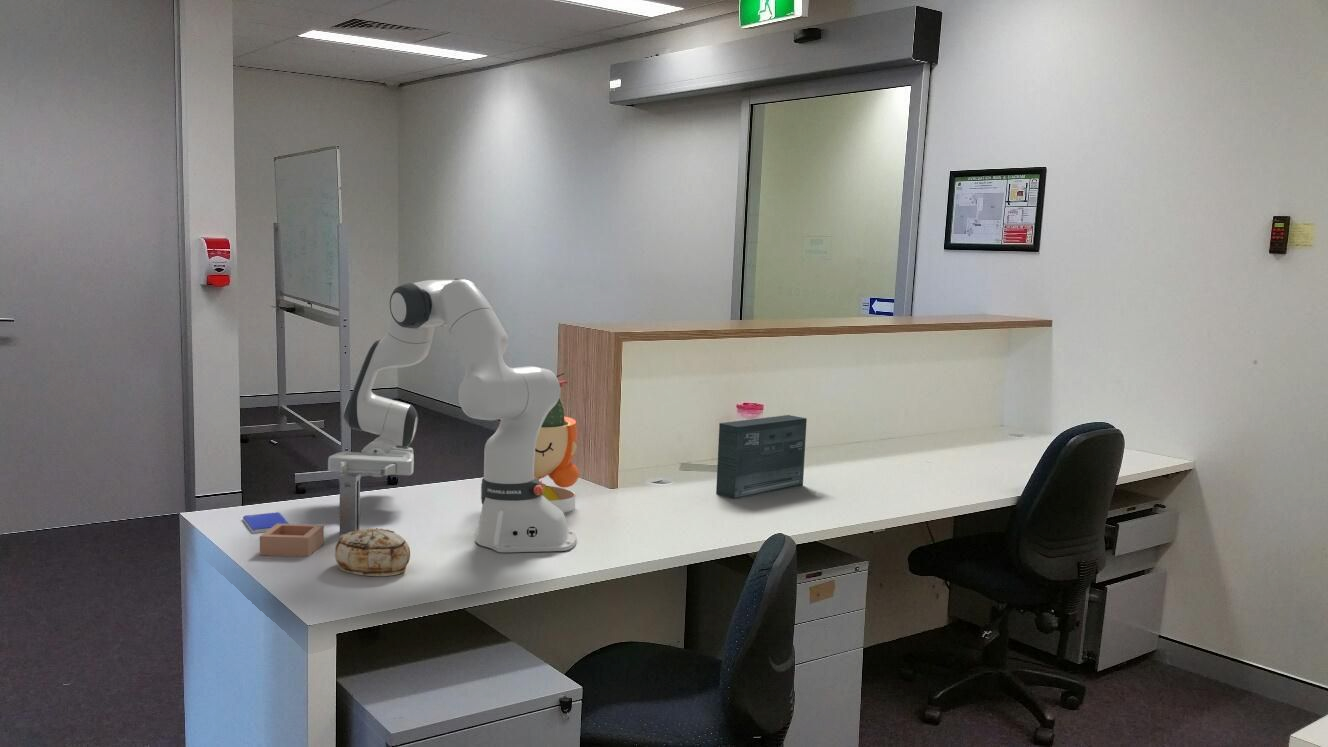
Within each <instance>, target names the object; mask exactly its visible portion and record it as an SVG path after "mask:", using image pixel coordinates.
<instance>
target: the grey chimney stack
mask: <svg viewBox="0 0 1328 747" xmlns="http://www.w3.org/2000/svg"><path fill="white" fill-rule="evenodd" d="M361 475H362V473H352V472H348V473H340V475H339V476H338V482H339V535H344V534H346V533H348V532H351V531H355V530H360V529H361V526H360V525H361V524H360V523H361V520H360V519H361V515H360V514H361V513H360V512H361V504H360V503H361V500H360V499H361V478H362V476H361Z"/></svg>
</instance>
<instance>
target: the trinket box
mask: <svg viewBox="0 0 1328 747" xmlns="http://www.w3.org/2000/svg"><path fill="white" fill-rule="evenodd" d="M334 548H335V549H334V558H335V560H336V563H337V564H338V565H339V568H340V570H342V571H344V572H347V573H350V574H354V575H358V576H359V575H360V576H368V577H370V576H371V577H389V576H396V575H400V574H402V573H405V571H406V570H407V566H408V564H409V562H410V560H411V549H410V546H409V543H408V542H407V541H406V540H405V538H404V537H403V536H401V535H400V534H398V533H396V532H395V531H393V530H390V529H384V528H378V527H376V528H362V529H361V528H360V530H355V531H351V532H348V533H346V534H341V535H340V536H339V537H338V541H337V543H336V544H335V547H334Z"/></svg>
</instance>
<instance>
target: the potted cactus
mask: <svg viewBox="0 0 1328 747" xmlns="http://www.w3.org/2000/svg"><path fill="white" fill-rule="evenodd" d="M564 373H565V372H562V373H560V374H558V375H556V377H557V378H559V377H561V376H563V375H564ZM558 381H559V384H560V388H563V385H564V384H568V381H567V380H559V379H558ZM562 399H563V396H560V397H559V400H558V402H557V404H556V405H555V406H554V407H553V408H552V409H551V410H550V411H549V413H548V414H547V416H546V418H545V420H544V422H543V424H542V426H541V429H540V432H539V435H538V438H537V442H536V448H535V462H534V478H535V479H537V480H538V481H540V480H541V479H543V478H546V477H547V476H548V477H549V478H550V479H551V480H552V481H553V483H554V484H555V485H556V486H552V485H547V484H546V483H543V494H542V496H544V497H545V498H546V499H547V500H549V501H550V502H551V503H553V504H554V505H555V506H556V507H558V508H559V509H560V510H562V512H563V513H564V514H565V513H568V512H572V511H573V510H575V509H576V499H577V498H576V496H577V494H576V493H575V492H574V491H573V490H571V489H568V488H569V487H571V486H573V485H575V484H576V483H577V481H578V479H579V476H580V472H579V469H578V467H577V466H576V464H573V463H572V461H573V460H574V457H575V455H576V451H577V446H578V426H577V421H576V420H575V419H574V418H572V417H568V416H567V415H568V414H565V412H564V411H566V409H567V408H565V406H563V405H564V401H563V400H562ZM500 422H501V419H499V425H500ZM499 425H498V426H499Z"/></svg>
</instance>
